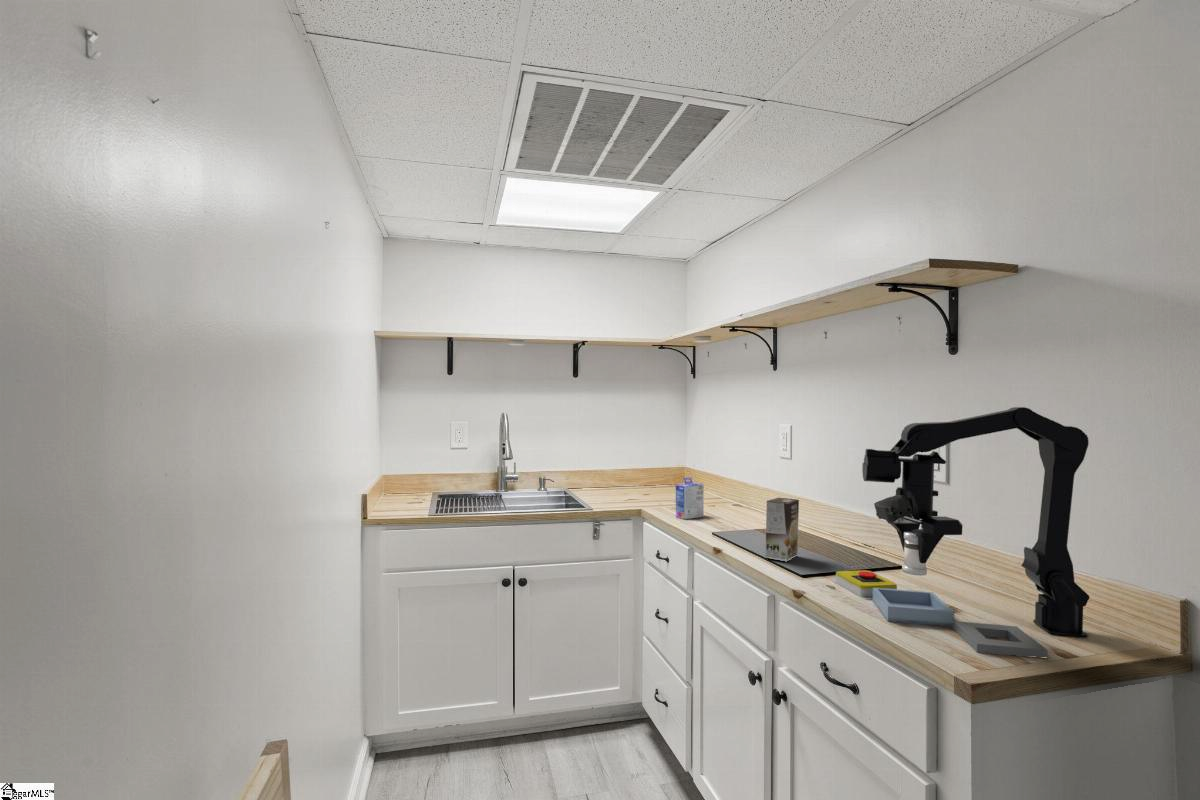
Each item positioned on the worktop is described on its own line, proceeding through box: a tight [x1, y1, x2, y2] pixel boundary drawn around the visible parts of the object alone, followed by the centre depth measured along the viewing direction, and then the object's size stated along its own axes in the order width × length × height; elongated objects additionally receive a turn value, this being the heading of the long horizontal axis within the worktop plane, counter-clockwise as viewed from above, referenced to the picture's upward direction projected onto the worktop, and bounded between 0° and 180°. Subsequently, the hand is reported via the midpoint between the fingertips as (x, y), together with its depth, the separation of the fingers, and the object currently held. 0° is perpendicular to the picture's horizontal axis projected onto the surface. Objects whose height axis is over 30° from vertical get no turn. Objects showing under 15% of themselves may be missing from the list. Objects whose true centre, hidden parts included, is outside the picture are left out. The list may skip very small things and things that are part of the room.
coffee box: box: [764, 497, 800, 560], centre depth 165 cm, size 9×6×16 cm
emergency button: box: [830, 569, 898, 601], centre depth 139 cm, size 9×4×15 cm
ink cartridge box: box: [675, 477, 705, 520], centre depth 220 cm, size 10×6×14 cm, turn 124°
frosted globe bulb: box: [902, 531, 928, 576], centre depth 122 cm, size 4×4×8 cm
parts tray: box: [872, 588, 955, 628], centre depth 123 cm, size 12×12×3 cm
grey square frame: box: [952, 620, 1049, 658], centre depth 108 cm, size 11×11×2 cm
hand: (915, 560), depth 122 cm, fingers closed on frosted globe bulb, 4 cm apart
